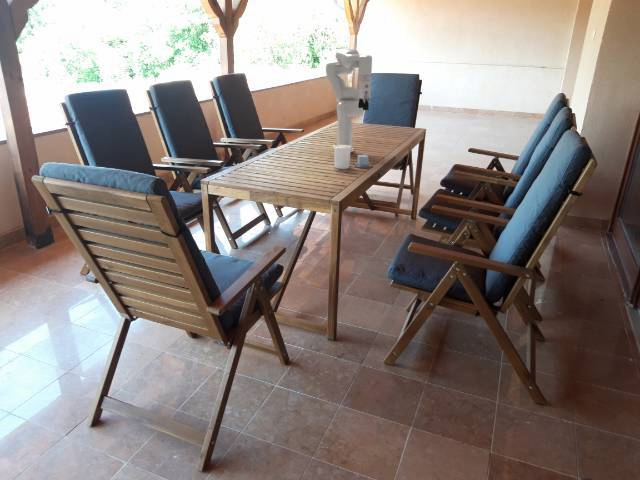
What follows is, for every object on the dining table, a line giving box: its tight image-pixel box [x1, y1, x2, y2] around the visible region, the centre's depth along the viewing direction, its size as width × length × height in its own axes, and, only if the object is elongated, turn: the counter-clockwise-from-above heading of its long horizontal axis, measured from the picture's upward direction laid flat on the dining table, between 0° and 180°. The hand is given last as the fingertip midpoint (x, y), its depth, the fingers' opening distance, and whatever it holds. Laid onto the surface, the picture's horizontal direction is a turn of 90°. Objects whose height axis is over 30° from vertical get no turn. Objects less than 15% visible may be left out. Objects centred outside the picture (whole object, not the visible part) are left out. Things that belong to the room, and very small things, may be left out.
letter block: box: [356, 154, 369, 166], centre depth 279 cm, size 5×5×5 cm
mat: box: [352, 162, 374, 169], centre depth 280 cm, size 10×9×1 cm
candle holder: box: [333, 144, 352, 170], centre depth 273 cm, size 10×10×12 cm
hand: (363, 108), depth 281 cm, fingers open, 9 cm apart
